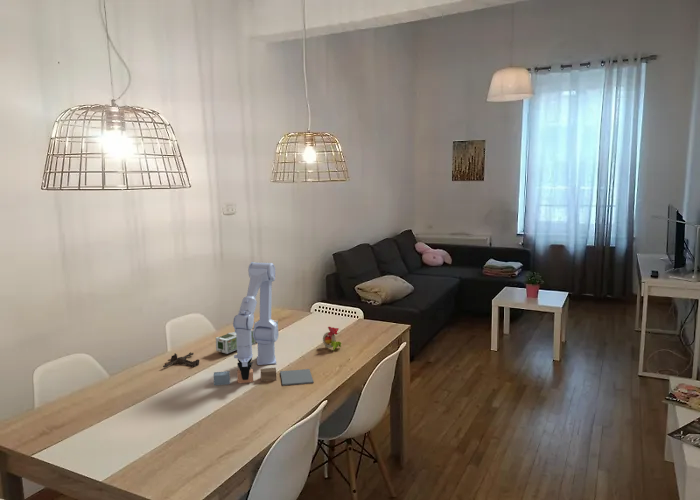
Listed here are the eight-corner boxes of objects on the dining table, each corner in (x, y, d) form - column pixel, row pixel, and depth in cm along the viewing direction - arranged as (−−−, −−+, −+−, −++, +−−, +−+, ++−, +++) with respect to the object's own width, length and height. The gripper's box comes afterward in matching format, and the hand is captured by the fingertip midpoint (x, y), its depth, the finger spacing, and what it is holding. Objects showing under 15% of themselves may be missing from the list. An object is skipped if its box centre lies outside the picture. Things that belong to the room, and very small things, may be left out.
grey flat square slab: (280, 372, 213) (280, 371, 213) (309, 370, 216) (309, 368, 216) (282, 385, 201) (282, 384, 201) (313, 383, 203) (313, 381, 203)
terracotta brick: (237, 379, 207) (237, 370, 206) (253, 378, 208) (252, 368, 207) (237, 383, 203) (237, 373, 202) (253, 382, 204) (253, 372, 204)
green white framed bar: (265, 332, 265) (265, 318, 264) (278, 334, 261) (278, 320, 260) (213, 352, 236) (213, 337, 235) (227, 356, 232) (226, 340, 230)
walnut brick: (260, 378, 208) (260, 368, 208) (275, 377, 210) (275, 367, 209) (261, 381, 205) (260, 372, 204) (276, 380, 206) (276, 370, 206)
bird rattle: (323, 354, 240) (338, 350, 235) (315, 331, 241) (330, 326, 236) (330, 350, 245) (345, 346, 240) (322, 328, 246) (337, 323, 241)
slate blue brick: (214, 381, 205) (213, 372, 204) (230, 380, 206) (229, 371, 205) (213, 385, 201) (213, 375, 201) (229, 384, 203) (229, 374, 202)
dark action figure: (181, 367, 212) (154, 358, 218) (181, 377, 213) (154, 368, 219) (211, 353, 228) (185, 345, 234) (210, 362, 229) (185, 354, 235)
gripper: (234, 339, 209) (235, 371, 211) (233, 351, 195) (234, 385, 197) (251, 337, 211) (252, 369, 213) (252, 350, 197) (253, 384, 199)
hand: (245, 377), depth 205 cm, fingers closed on terracotta brick, 3 cm apart
